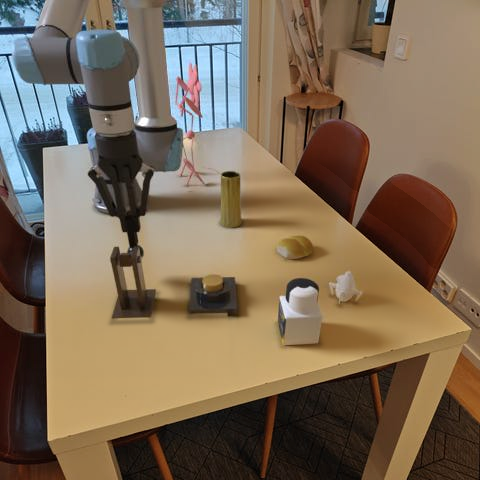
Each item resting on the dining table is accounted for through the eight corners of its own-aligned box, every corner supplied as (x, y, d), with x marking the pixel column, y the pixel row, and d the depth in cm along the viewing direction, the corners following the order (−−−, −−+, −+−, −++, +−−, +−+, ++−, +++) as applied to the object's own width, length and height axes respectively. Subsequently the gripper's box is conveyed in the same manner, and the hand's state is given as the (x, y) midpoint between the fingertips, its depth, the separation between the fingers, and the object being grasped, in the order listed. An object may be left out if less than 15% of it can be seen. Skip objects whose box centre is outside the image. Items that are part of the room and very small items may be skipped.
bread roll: (318, 253, 112) (320, 239, 109) (290, 263, 108) (292, 249, 105) (298, 240, 117) (299, 226, 115) (271, 249, 113) (272, 235, 111)
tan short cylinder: (202, 281, 95) (202, 274, 94) (222, 280, 96) (222, 274, 94) (202, 292, 92) (202, 286, 91) (223, 292, 92) (223, 285, 91)
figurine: (189, 196, 139) (180, 72, 117) (172, 168, 158) (162, 58, 136) (234, 189, 143) (234, 69, 121) (213, 163, 162) (209, 55, 140)
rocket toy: (327, 294, 98) (331, 264, 93) (349, 291, 99) (355, 261, 94) (337, 308, 94) (342, 277, 89) (360, 304, 95) (366, 274, 90)
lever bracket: (120, 294, 98) (109, 239, 89) (156, 293, 98) (148, 239, 89) (112, 322, 90) (99, 265, 81) (151, 321, 90) (141, 265, 81)
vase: (239, 228, 122) (239, 179, 113) (218, 226, 123) (216, 177, 114) (243, 219, 127) (243, 171, 118) (223, 217, 128) (222, 169, 119)
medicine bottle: (277, 322, 90) (281, 274, 82) (310, 321, 90) (317, 272, 83) (282, 346, 84) (287, 296, 77) (318, 344, 85) (326, 294, 77)
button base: (192, 285, 100) (190, 270, 98) (234, 284, 101) (234, 269, 98) (189, 317, 91) (188, 302, 89) (236, 316, 92) (236, 301, 89)
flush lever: (129, 259, 98) (128, 243, 97) (145, 259, 98) (144, 243, 97) (116, 270, 85) (114, 251, 84) (134, 269, 86) (133, 251, 84)
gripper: (73, 137, 76) (100, 254, 91) (148, 137, 77) (162, 252, 92) (83, 125, 82) (107, 237, 97) (152, 125, 83) (165, 235, 98)
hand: (134, 244), depth 94 cm, fingers closed
